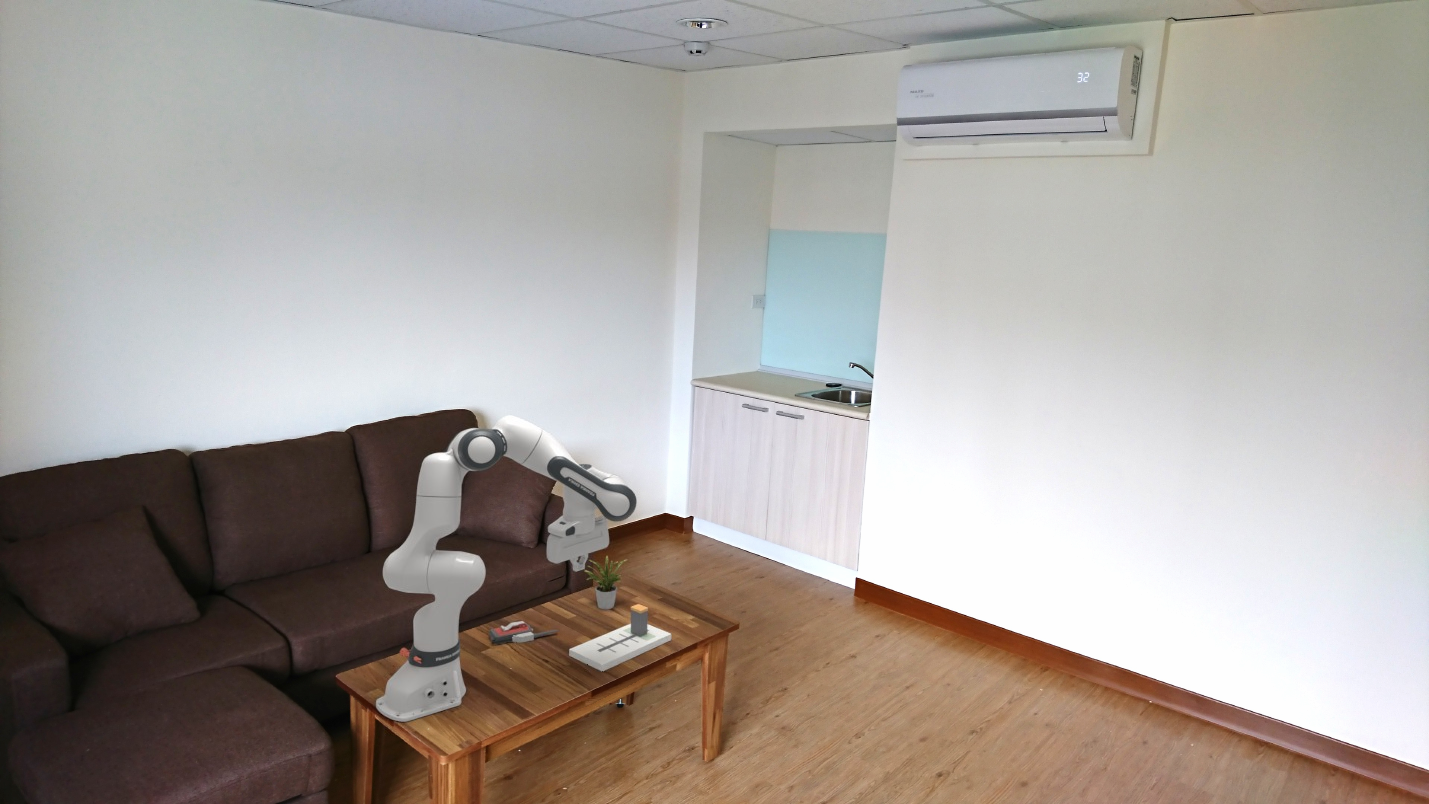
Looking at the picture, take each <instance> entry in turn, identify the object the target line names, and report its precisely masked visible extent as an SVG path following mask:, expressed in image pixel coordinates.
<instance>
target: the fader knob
mask: <svg viewBox="0 0 1429 804" xmlns="http://www.w3.org/2000/svg"><path fill="white" fill-rule="evenodd" d="M648 612H649V607H647V606H645V605H642V604H640V603H638V604H634V605H632V606H630V624H631V633H633V634H636V635H638V636H642V635H645V634H647V624H648V620H649V619H648Z"/></svg>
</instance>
